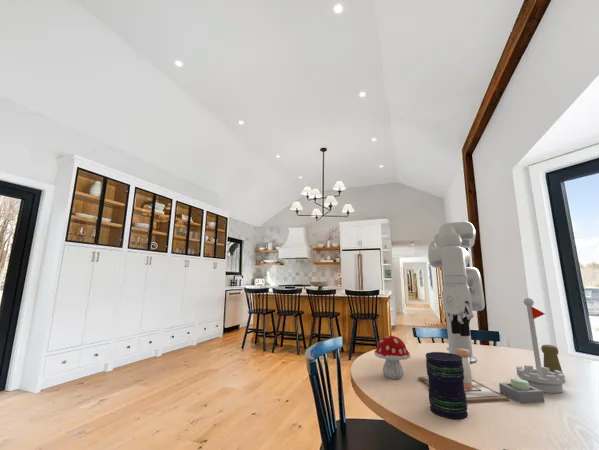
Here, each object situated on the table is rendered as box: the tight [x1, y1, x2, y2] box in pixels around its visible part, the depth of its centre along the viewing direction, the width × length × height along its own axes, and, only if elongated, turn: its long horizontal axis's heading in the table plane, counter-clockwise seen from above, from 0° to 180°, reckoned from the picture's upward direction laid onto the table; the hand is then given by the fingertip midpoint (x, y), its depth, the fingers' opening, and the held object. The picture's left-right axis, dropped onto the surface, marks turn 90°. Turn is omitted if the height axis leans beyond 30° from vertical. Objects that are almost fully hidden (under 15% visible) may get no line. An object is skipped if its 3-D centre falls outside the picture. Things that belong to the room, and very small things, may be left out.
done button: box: [510, 378, 529, 391], centre depth 93 cm, size 5×5×4 cm
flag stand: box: [515, 297, 566, 394], centre depth 104 cm, size 13×13×30 cm
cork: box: [540, 344, 564, 374], centre depth 114 cm, size 6×6×11 cm
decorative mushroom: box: [374, 335, 412, 380], centre depth 114 cm, size 14×14×15 cm
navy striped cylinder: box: [425, 351, 469, 421], centre depth 84 cm, size 10×10×15 cm
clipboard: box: [417, 375, 510, 404], centre depth 100 cm, size 22×18×1 cm
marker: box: [455, 348, 473, 390], centre depth 99 cm, size 4×4×12 cm
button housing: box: [498, 382, 545, 404], centre depth 93 cm, size 8×8×3 cm
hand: (460, 334), depth 101 cm, fingers open, 3 cm apart
